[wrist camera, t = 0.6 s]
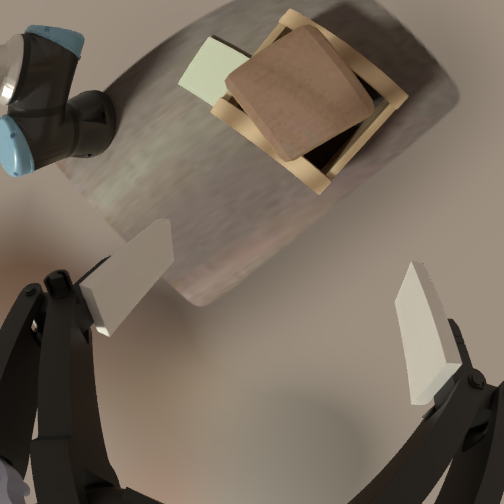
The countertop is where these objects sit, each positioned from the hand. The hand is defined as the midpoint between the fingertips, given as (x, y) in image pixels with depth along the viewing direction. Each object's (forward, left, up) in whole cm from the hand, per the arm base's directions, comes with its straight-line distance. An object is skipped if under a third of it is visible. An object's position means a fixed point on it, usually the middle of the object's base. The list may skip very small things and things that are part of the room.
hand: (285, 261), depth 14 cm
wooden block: (-6, +7, -32) cm, 33 cm away
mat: (-21, +2, -31) cm, 38 cm away
